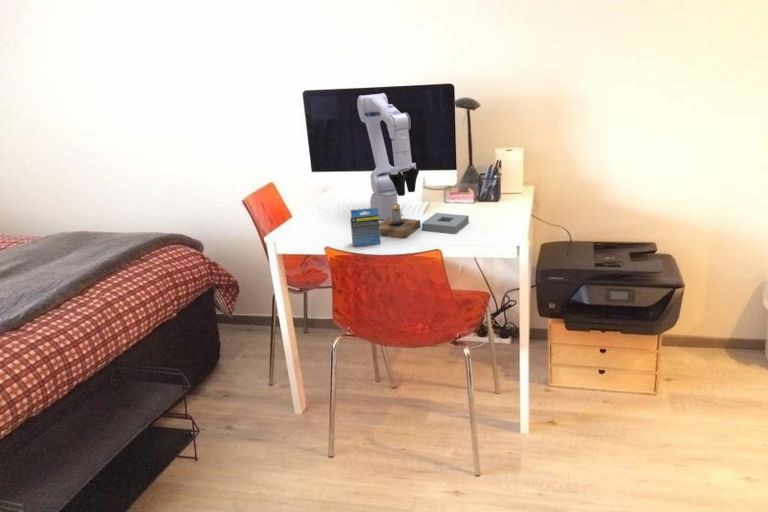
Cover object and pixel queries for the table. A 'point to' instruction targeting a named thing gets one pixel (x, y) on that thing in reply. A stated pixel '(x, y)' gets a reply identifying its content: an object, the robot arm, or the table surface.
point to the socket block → (399, 228)
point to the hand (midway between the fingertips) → (406, 193)
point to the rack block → (445, 223)
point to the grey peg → (396, 215)
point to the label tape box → (365, 227)
